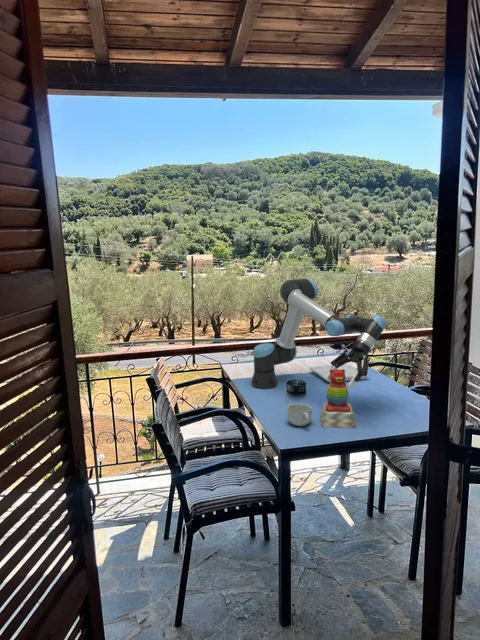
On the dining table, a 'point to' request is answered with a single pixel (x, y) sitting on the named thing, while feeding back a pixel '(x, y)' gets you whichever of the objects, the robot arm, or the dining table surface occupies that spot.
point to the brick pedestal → (337, 418)
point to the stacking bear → (337, 392)
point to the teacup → (299, 414)
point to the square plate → (349, 370)
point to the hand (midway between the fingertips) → (338, 382)
